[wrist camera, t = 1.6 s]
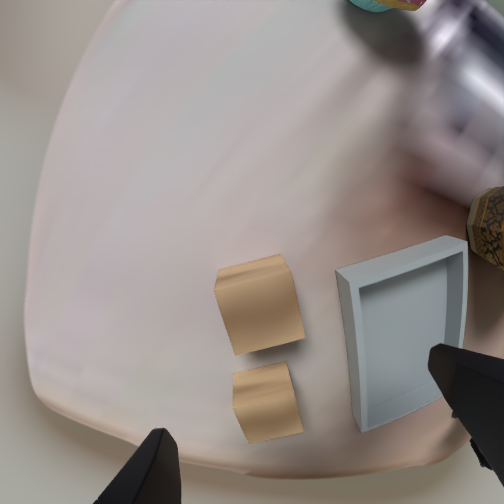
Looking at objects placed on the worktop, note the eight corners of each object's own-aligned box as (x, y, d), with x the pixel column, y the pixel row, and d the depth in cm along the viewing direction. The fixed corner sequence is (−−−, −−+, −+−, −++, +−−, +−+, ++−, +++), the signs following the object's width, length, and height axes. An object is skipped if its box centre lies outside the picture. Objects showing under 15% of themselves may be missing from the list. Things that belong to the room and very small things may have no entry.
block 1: (293, 309, 21) (305, 337, 17) (235, 323, 22) (235, 355, 17) (280, 253, 20) (290, 271, 16) (218, 269, 21) (213, 291, 16)
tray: (440, 375, 24) (454, 389, 21) (352, 413, 24) (361, 433, 21) (445, 235, 21) (467, 241, 18) (335, 269, 21) (349, 282, 18)
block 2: (295, 397, 23) (303, 431, 19) (247, 408, 24) (248, 443, 19) (285, 360, 22) (294, 394, 18) (233, 372, 23) (232, 408, 18)
